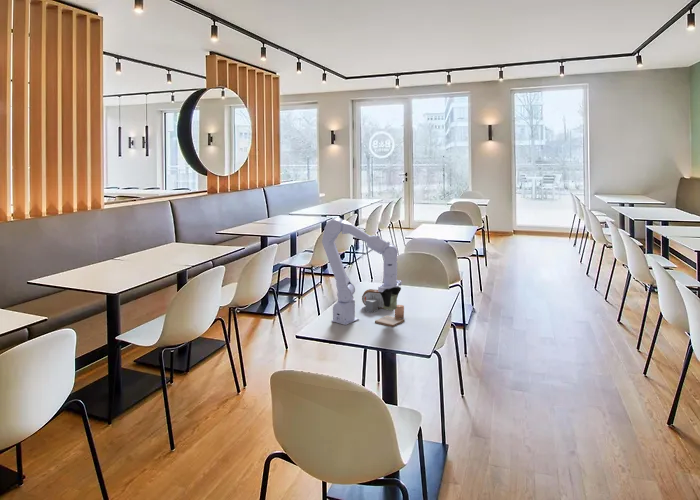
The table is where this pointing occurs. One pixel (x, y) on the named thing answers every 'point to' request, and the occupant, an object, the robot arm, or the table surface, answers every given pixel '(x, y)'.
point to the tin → (373, 297)
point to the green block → (392, 303)
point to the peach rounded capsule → (399, 311)
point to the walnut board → (389, 321)
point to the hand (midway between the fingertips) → (390, 305)
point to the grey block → (371, 305)
